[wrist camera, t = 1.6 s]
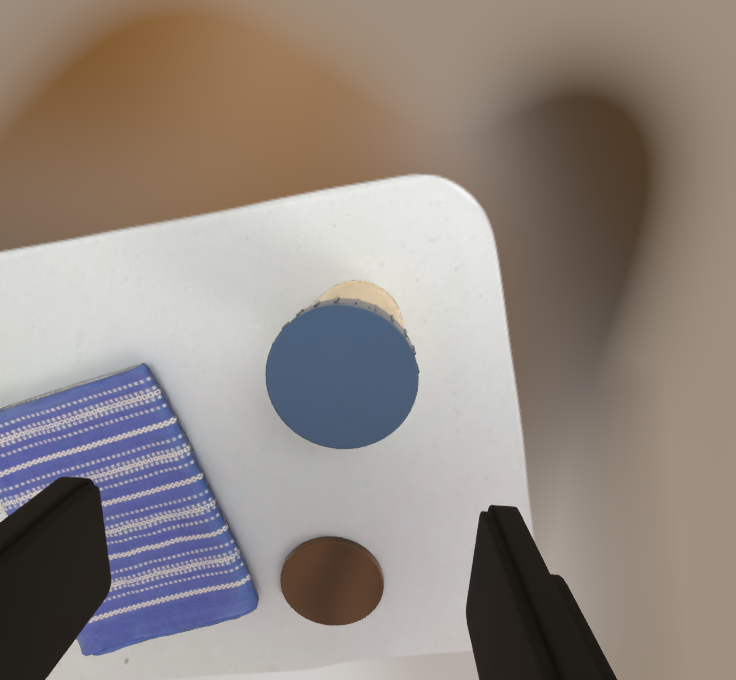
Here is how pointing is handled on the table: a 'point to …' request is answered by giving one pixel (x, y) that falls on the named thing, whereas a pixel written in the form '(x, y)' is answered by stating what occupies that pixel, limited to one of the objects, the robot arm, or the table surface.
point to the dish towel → (131, 505)
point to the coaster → (332, 581)
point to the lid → (342, 374)
